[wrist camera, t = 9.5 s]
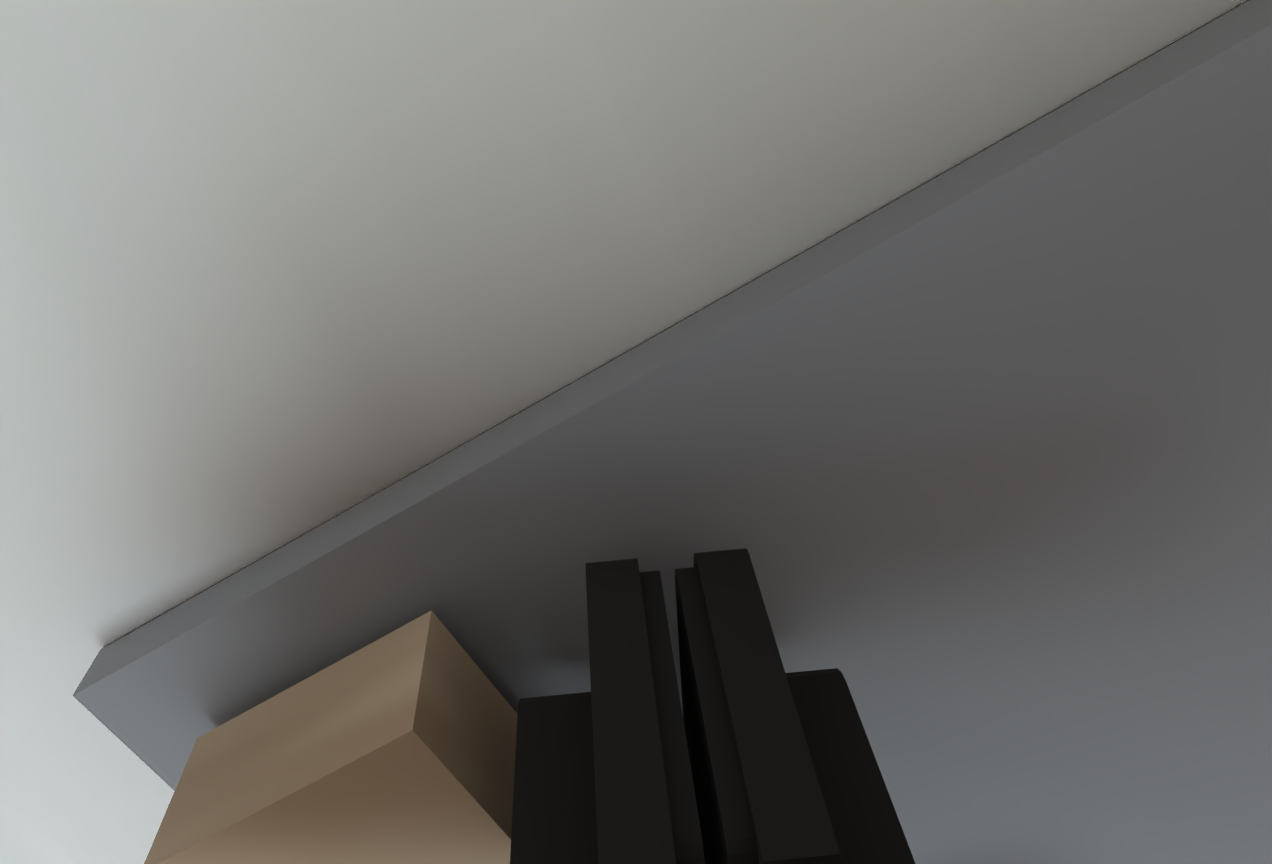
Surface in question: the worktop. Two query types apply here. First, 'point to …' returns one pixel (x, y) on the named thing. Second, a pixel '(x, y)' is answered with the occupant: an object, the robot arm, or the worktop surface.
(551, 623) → the base plate
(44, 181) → the worktop surface
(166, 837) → the link
